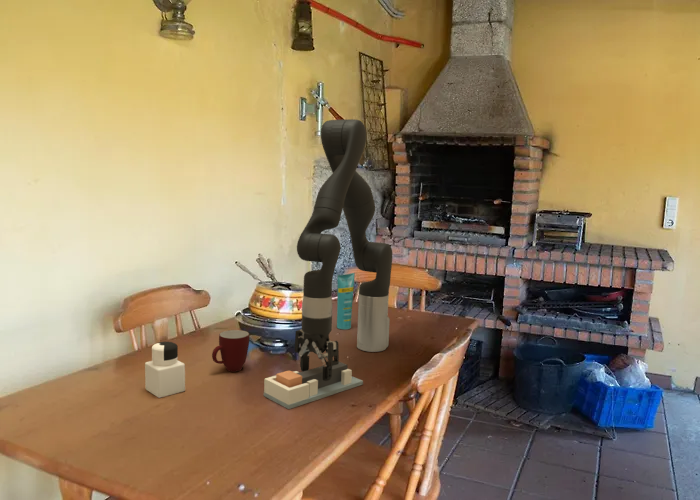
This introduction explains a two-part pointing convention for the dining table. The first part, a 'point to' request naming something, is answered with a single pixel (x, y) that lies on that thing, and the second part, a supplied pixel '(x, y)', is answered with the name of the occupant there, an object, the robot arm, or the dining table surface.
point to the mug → (232, 349)
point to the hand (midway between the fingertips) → (315, 375)
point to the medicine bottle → (164, 370)
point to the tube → (345, 300)
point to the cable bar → (311, 376)
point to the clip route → (306, 390)
